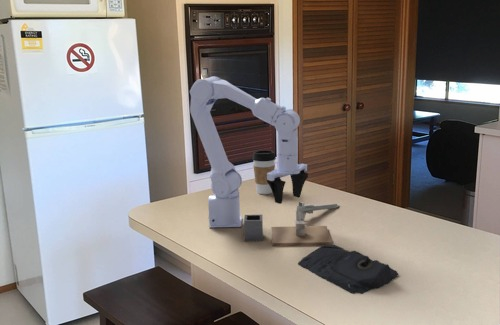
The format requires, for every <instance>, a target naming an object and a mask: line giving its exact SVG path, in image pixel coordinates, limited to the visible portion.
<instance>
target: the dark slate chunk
mask: <svg viewBox="0 0 500 325" xmlns="http://www.w3.org/2000/svg"><path fill="white" fill-rule="evenodd" d="M297 265H298V266H300V267H301V268H303V269H305V270H308V271H309V272H310V273H312V274H314V275H315V276H317V277H319V278H321V279H322V280H325V281H327V282H329V283H331V284H333V285H335V286H337V287H339V288H340V289H342V290H344V291H345V292H348V293H350V294H356V293H357V294H361V295H364V294H365V293H367V292H369V291H372V290H374V289H380V288H383V287H384V286H386V285H388V284H390V283H391V282H392V281H393V280H394V279H396V277H397V276H399V273H398V271H397V270H395V269H393V268H391V267H390V266H389V264H388V263H387V264H386V263H382V262H380V261H379V260H377V259H376V260H375V259H374V260H372V259H371V258H370V256H368V255H364V254H362V253H361V252H359V251H356V250H351V251H350V250H348V249H347V250H346V249H344V248H342V247H340V246H338V245H336V244H333V243H332V244H330V245H324V246H318V248H316V249H315V250H313V251H312V252H310V253H309V254H307V255H306V256H304V257H302V259H301V260H300V261H298V263H297Z"/></svg>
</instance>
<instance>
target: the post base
mask: <svg viewBox="0 0 500 325" xmlns="http://www.w3.org/2000/svg"><path fill="white" fill-rule="evenodd" d="M270 228H271V247H301V246H302V247H310V246H311V247H312V246H314V247H317V246H318V247H321V246H324V245H330V244H333V243H332V242H333V241H332V240H331V236H330V233H329V230H328V226H327V225H317V226H316V225H312V226H311V225H309V226H307V225H306V223H305V220H304V221H296V220H295V226H271V227H270Z"/></svg>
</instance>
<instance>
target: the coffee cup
mask: <svg viewBox="0 0 500 325" xmlns="http://www.w3.org/2000/svg"><path fill="white" fill-rule="evenodd" d="M275 160H277V156H276V154H275V152H274V151H273V150H269V149H268V150H267V149H264V150H262V149H261V150H256V151H253V155H252V161H253V173H254V181H255V192H256V193H257V194H259V195H269V194H273V192H272V190H271V188H270V186H269V184H268V182H267V173H269V172H271V171H273V170H275V169H276V164H275V162H276V161H275Z"/></svg>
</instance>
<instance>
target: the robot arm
mask: <svg viewBox="0 0 500 325" xmlns="http://www.w3.org/2000/svg"><path fill="white" fill-rule="evenodd" d="M189 94H190V107H189V108H190V109H189V112H190V115H191V118H192V120H193V123H194V125H195V129H196V131H197V133H198V136H199V139H200V142H201V143H202V147H203V149H204V152H205V155H206V157H207V159H208V162H209V165H210V167H211V168H210V173H209V174H210V175H209V178H210V181H211V191H212V193H213V194H211V195H209V196H208V204H207V206H208V222H209V226H208V227H209V228H241V227H242V222H243V216H241V204H240V190H239V188H240V187H241V186H242V183H243V180H242V179H243V178H242V175H241V174H240V172H238V171H237V169H236V167H235V165H234V164H233V163H232V162H230V161H229V159H228V156H227V154H226V152H225V149H224V146H223V143H222V141H221V138H220V135H219V132H218V131H217V127H216V125H215V123H214V119H213V117H212V114H211V110H212V108H213V107H214V104H215V103H216V101H217V100H218V99H219V100H220V99H228V100H230V101H232V102H235V103H237V104H239V105H241V106H243V107H245V108H247V109H250V110H251V112H252V115H253V116H254V117H256V118H258V119H259V120H261V121H263V122H264V123H268V124H269V125H271V126H272V127H273V126H274V128H275V130H276V131H277V147H276V148H277V153H276V154H277V168H275V170H273V171H271V172H269V173H267V182H268V184H269V186H270V188H271V190H272V196H273V198H274V203H277V204H279V205H280V204H283V196H284V188H285V185H286V183H287V182H286V180H285V181H284V180H282V179H281V178H284V177H288V176H290V178H291V185H292V195H293V197H296V198H301V195H302V191H303V188H304V185H305V183H306V182H307V181H306V180H307V179H308V178H309V173H308V164H306V163H298V162H299V160H298V159H299V158H298V157H299V155H298V154H299V138H298V134H299V133H298V127H299V125H300V123H301V118H300V116H299V113H298V112H296V111H295V110H294V109H292V108H289V109H287V107H286V106H284V105H282V106H281V105H279V104H276V103H274V101H272V99H271V98H270V97H266V98H265V97H260V98H256V97H254V96H252V95H251V94H249V93H247V92H246V91H244V90H242V89H240V88H239V87H237V86H235V85H233V84H232V83H230V82H229V81H228V80H226V79H221V78H220V77H218V76H209V77H206V78H200V79H197V80H196V81H195V82H193V84H192V86H191V88H190V90H189Z"/></svg>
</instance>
